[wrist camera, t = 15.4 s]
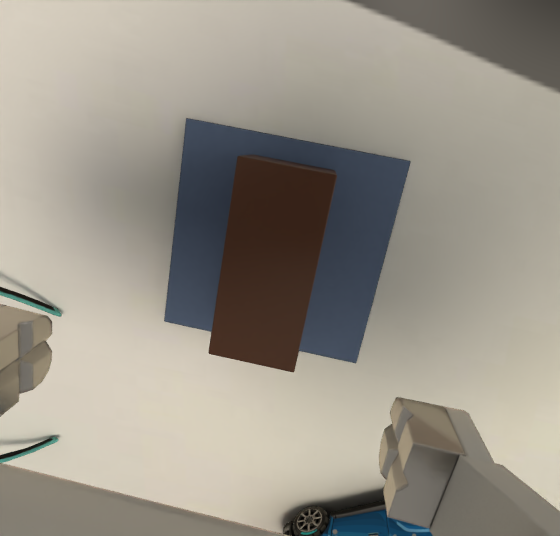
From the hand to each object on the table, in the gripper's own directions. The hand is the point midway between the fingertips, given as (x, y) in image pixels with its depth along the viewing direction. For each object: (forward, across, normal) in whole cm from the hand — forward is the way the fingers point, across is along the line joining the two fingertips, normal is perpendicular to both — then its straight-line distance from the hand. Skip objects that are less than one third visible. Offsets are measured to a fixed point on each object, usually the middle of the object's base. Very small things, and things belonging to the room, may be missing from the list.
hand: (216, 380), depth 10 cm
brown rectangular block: (+14, 0, +1) cm, 14 cm away
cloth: (+15, 0, 0) cm, 15 cm away
